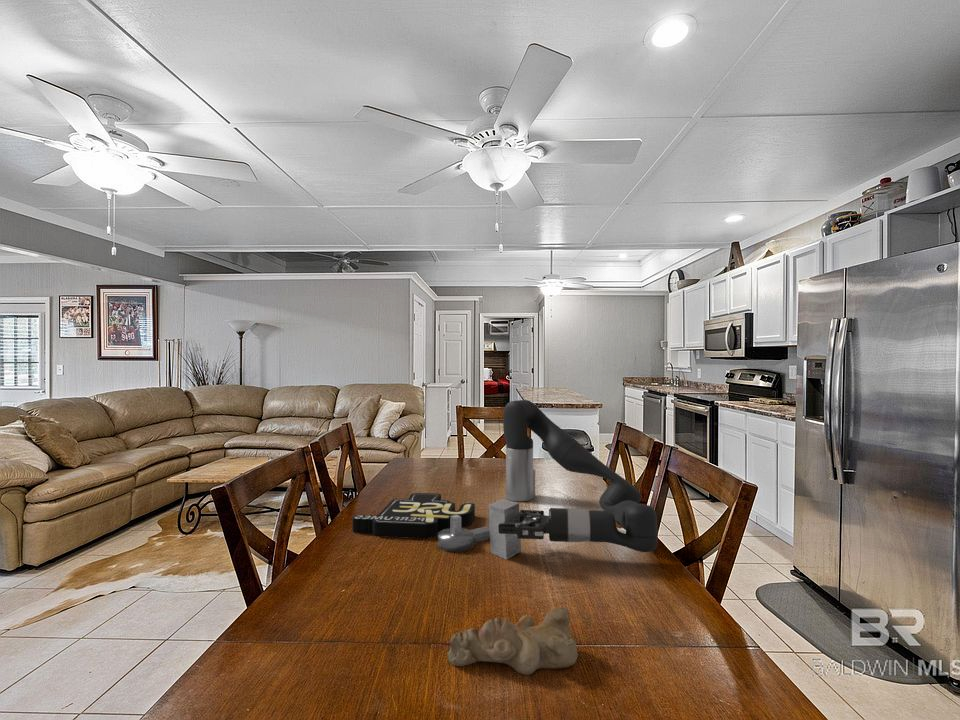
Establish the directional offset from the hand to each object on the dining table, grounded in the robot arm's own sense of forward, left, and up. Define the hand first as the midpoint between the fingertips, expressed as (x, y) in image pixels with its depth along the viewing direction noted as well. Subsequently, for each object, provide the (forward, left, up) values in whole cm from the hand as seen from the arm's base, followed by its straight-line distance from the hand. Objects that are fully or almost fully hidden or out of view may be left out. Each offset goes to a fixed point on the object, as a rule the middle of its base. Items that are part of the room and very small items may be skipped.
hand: (500, 522), depth 117 cm
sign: (+3, -34, -8) cm, 35 cm away
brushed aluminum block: (-1, +1, -7) cm, 7 cm away
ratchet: (-5, -11, -8) cm, 14 cm away
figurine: (+24, +32, -8) cm, 41 cm away
